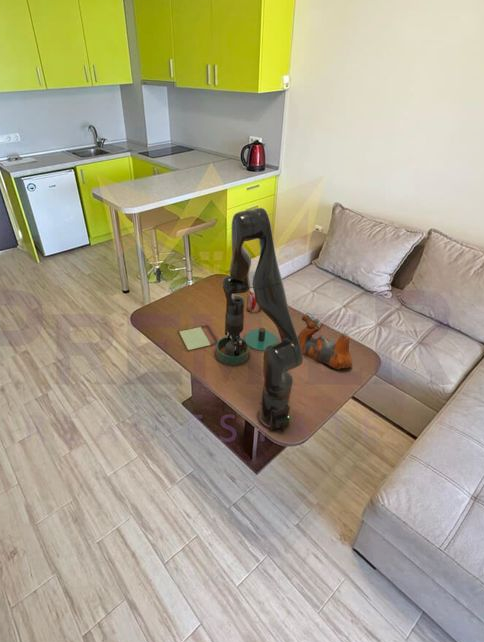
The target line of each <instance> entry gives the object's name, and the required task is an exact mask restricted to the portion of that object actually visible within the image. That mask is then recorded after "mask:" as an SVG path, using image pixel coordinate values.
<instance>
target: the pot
mask: <svg viewBox="0 0 484 642" xmlns="http://www.w3.org/2000/svg"><path fill="white" fill-rule="evenodd" d="M226 337H227V336H223V337H221V338H220V339H219V340H217V342H216V345H215V346H216V347H215V357H216V359H217V360H218V361H219V362H220V363H223V364H226V365H228V366H236V365H237V366H238V365H242V364H244V363H245V362H246V361H247V360H248V358H249V355H250V347H249V344H248V343H247V342H246V341H245V338H242V337H240V340H243V350H244V351H245V352H244V353H241V354H239V356H228V355H225V353H223V352H222V351H220V349H221V348H222V347H224V346H225V345H226V344H227V338H226Z"/></svg>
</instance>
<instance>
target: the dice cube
mask: <svg viewBox="0 0 484 642" xmlns="http://www.w3.org/2000/svg"><path fill="white" fill-rule="evenodd" d="M235 343H237V342H234V344H235ZM224 346H225V347H224V348H225V349H224V354H225V355H228V356H234V346H233V345H232V341H231V339H230V340H229V342H228V343H227V344H226V345H224Z"/></svg>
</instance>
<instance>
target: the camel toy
mask: <svg viewBox="0 0 484 642" xmlns="http://www.w3.org/2000/svg"><path fill="white" fill-rule="evenodd" d="M301 320H302V321H303V322H305V325H306V327H304V328H303V329H302V330H301V331H300V332H298V334H297V337H298V340H299V343H300V346H301V350H302V355H303V357H307V358H309V359H311V360H314V361H316V362H320V363H323V364H325V365H327V366H329V367H331V368H333V369H336V370H340V369H348V368H352V367H353V359H352V356H351V352H350V336H349V334H348V333H346V332H343V333H341V334H340V335H339V337H338V339H337V341H336V342H332V341H330V340H329V339H328V338H327V337H326V336H325V335H320V336H318V337H317V338H314V337H313V335H315V334H316V333H318V332H319V331H320V330H321V329H322V327H324V324H323V322H321V321H320V319H319V318H315V317H314V316H313V315H312V314H311V313H310V312H306V313H304V314H303V315H302V316H301Z"/></svg>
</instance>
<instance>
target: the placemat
mask: <svg viewBox="0 0 484 642" xmlns="http://www.w3.org/2000/svg"><path fill="white" fill-rule="evenodd" d="M178 332H179V335H180V338H181V339H182V341H183V343H184V345H185V347H186V349H187V351H192V350H197V349H202V348H205V347H209V346H212V344H211V342H210V340H209V338H208V337H207V335H206V334H205V332H204V329H203V328H202V326H198V327H194V328H189V329H185V330H180V331H178Z"/></svg>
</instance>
